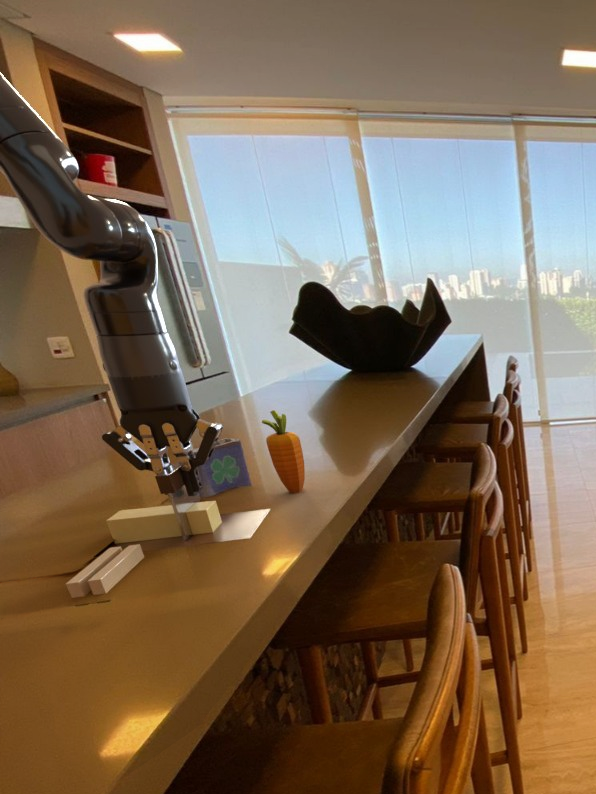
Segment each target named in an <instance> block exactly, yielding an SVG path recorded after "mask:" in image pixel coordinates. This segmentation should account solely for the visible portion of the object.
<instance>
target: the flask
mask: <svg viewBox="0 0 596 794" xmlns="http://www.w3.org/2000/svg"><path fill="white" fill-rule="evenodd" d="M201 438H202V439H203V437H201ZM242 446H243V445H242V441H241V440H240V439H239V438H221V439H218V441H217V444H216V446H215V449H214V451H213V454H212V456H211V459H210V460H209V461H207V462H206V463H205V464H204V465H201V466H198V471H199V475H200V479H201V482H202V485H203V486H202V489H201V490H200V491H199V495H200V498H209V497H213V496H215V495H218V494H220V493H222V492H225V491H227V490H230V489H233V488H234V489H235V488H242V487H243V488H245V487H252V486H253V485H252V481H251V478H250V473H249V469H248V464H247V461H246V457H245V453H244V449H243V447H242ZM198 450H199V447H197V448H196V447H195V448H193V452H194V455H195V456H196V455H197V452H198Z"/></svg>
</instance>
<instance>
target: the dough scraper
mask: <svg viewBox="0 0 596 794" xmlns="http://www.w3.org/2000/svg"><path fill="white" fill-rule="evenodd" d="M182 471H183V470H182V469H181V468H180V465H179V463H178V460H176V461H174V463H172V464H171V466H169V467H168V468H166V469H165V470H164V471H162V472H161V473H159V474H158V475H157V474H156V475H155V476H154V478H155V481H156V483H157V487H158V489H159V492H160V495H165V494H168V495H167V496H168V498H169V501H170V503H171V504H170V505H172V507H173V510H174V513H175V516H176V519H177V522H178V525H179V528H180V531H181V534H182V537H183V540H187V539H188V538H189V537H190V536H191V535H192V531H191V528H190V525H189V521H188V518H187V515H186V511H187V510H188V509H189V508H191V507H192V506H193V505H194V504H195V503H197V502H202V499H201V498H202V497H200V495H199V493H198V494H197V495H196V496H190V497H189V496H188V494H187V491H186V488H185V483H184V480H183V477H182V474H181V472H182ZM198 472H199V471H198Z"/></svg>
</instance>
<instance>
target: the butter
mask: <svg viewBox="0 0 596 794" xmlns="http://www.w3.org/2000/svg"><path fill="white" fill-rule="evenodd" d="M105 522H106V525H107V527H108V530H109V532H110V535H111V537H112V540H113V541H114V543H115V544H119V543H127V542H136V541H144V540H153V539H162V538H170V537H179V536H182V534H181V531H180V528H179V525H178V522H177V519H176V516H175V513H174V510H173V507H172V504H169V505H159V506H151V507H141V508H130V509H121V510H119V511H117V512H116V513H115V514H113V515H111V516H110V517H109V518H108V519H106V520H105Z"/></svg>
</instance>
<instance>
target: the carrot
mask: <svg viewBox="0 0 596 794" xmlns="http://www.w3.org/2000/svg"><path fill="white" fill-rule="evenodd" d="M270 414H271V416H272V418H273V419H274V422H272V421H270V420H267V419H263V420H261V424H262V425H263V424H264V425H267V426H269V427H270V428H271V429H273V431H274V432H275V433H272V434H269V435H267V437H266V439H265V442H266V446H267V450H268V452H269V456H270V460H271V463H272V465H273V467H274V470H275V472H276V474H277V476H278V478H279V480H280V482H281V483H282V484H283V486H284V488H285V489H286V490H287V491H288V492H289V494H297V493H298V494H299V493H300V492H302V491H303V489H304V486H305V485H304V484H305V475H306V474H305V473H306V471H305V458H304V453H303V448H302V443H301V439H300V438H299V436H298V435H297V434H296V433H295V432H292V431H286V429H287V415H286V414H285V413H281V415H279V413H278V412H277V410H273V409H272V410H271V411H270Z"/></svg>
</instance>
